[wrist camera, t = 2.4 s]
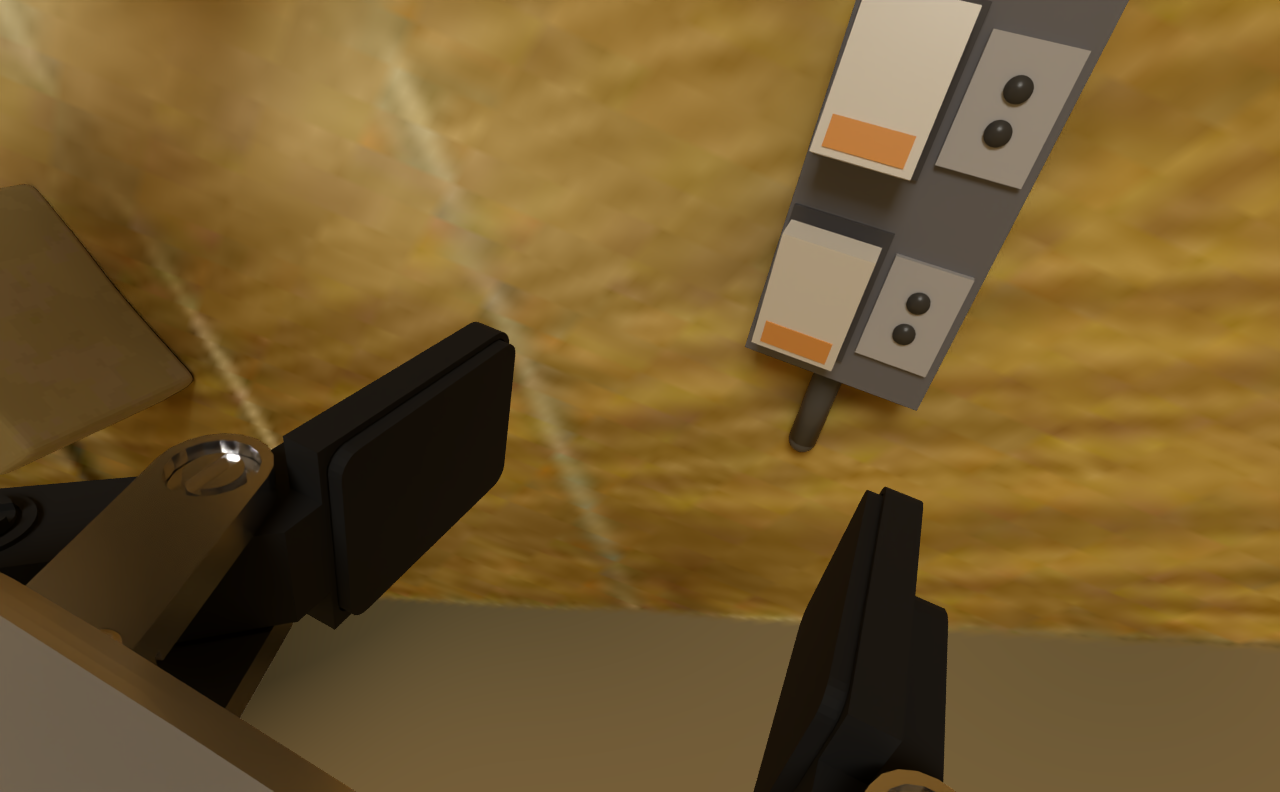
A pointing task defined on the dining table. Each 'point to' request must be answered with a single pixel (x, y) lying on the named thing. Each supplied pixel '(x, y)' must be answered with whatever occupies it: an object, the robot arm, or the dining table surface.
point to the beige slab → (66, 339)
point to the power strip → (945, 197)
